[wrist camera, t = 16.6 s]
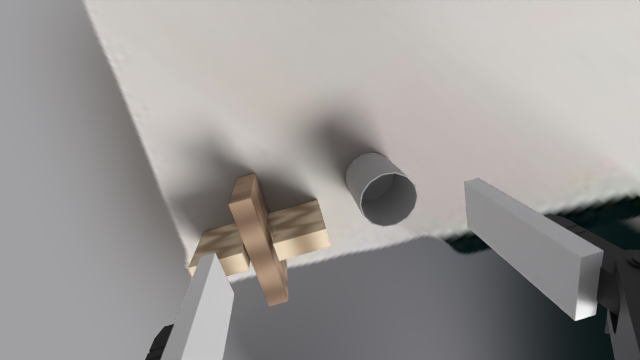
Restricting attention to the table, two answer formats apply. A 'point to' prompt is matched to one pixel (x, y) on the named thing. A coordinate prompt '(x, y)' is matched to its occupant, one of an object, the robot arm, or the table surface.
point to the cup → (381, 189)
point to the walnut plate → (258, 238)
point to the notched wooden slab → (285, 229)
